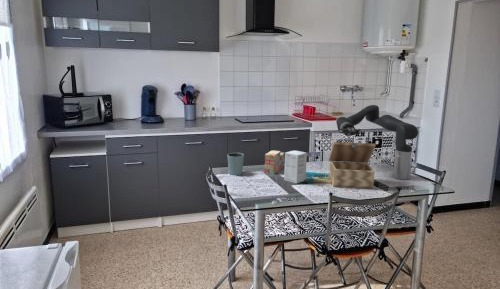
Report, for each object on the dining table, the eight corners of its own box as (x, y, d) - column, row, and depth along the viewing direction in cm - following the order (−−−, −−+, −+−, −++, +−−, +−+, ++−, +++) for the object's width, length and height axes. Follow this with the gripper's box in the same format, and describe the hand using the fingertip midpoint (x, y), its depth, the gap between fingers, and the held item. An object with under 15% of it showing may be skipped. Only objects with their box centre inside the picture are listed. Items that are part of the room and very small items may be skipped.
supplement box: (306, 180, 223) (307, 152, 219) (296, 183, 216) (298, 155, 213) (292, 176, 229) (294, 149, 226) (283, 180, 223) (284, 152, 219)
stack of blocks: (275, 165, 255) (276, 147, 252) (284, 166, 253) (285, 148, 250) (264, 173, 236) (264, 153, 233) (273, 174, 233) (274, 155, 231)
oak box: (365, 179, 229) (366, 163, 227) (372, 188, 211) (374, 171, 209) (328, 177, 230) (329, 161, 228) (333, 186, 213) (334, 169, 211)
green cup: (244, 171, 237) (244, 153, 234) (242, 176, 227) (242, 157, 225) (228, 170, 238) (228, 152, 235) (225, 175, 228) (226, 156, 226)
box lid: (368, 165, 226) (367, 160, 228) (376, 147, 210) (375, 142, 212) (329, 163, 228) (328, 158, 229) (334, 145, 211) (334, 141, 213)
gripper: (357, 135, 235) (364, 140, 218) (336, 134, 236) (341, 139, 219) (358, 123, 233) (365, 127, 216) (337, 122, 234) (342, 126, 217)
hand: (353, 133), depth 217 cm, fingers closed
